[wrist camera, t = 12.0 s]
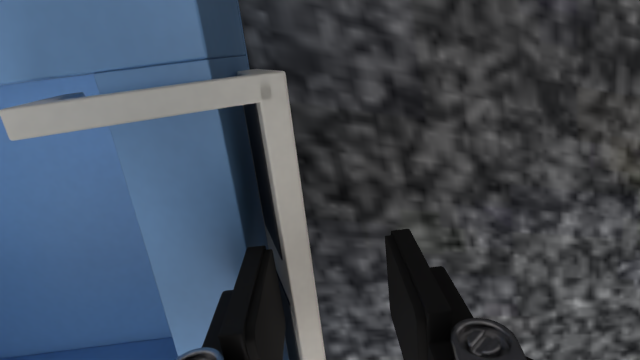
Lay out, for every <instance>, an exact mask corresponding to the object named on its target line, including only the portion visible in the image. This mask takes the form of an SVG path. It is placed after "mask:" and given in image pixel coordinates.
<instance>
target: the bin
mask: <svg viewBox="0 0 640 360" xmlns="http://www.w3.org/2000/svg"><path fill="white" fill-rule="evenodd" d="M244 70H250V68H249V62H248V56H247V50H246V44H245V38H244V32H243V27H242V21H241V15H240V9H239V3H238V0H0V110H1V109H5V108H9V107H13V106H18V105H22V104H26V103H30V102H34V101H38V100H42V99H47V98H51V97H55V96H59V95H63V94H71V93H78V92H83V93H84V94H85V96H86V97H87V96H94V95H101V94H109V93H116V92H124V91H131V90H138V89H146V88H153V87H160V86H168V85H175V84H182V83H190V82H197V81H205V80H212V79H219V78H227V77H234V76H237V72H238V71H244ZM263 245H265V246H266V249H267V250H268V249H269V248H268V243H267V237H266V232H265V226H264V221H263V215H262V210H261V204H260V199H259V193H258V187H257V182H256V176H255V171H254V165H253V160H252V154H251V149H250V143H249V138H248V132H247V127H246V121H245V116H244V110H243V105H240V106H234V107H227V108H221V109H214V110H208V111H202V112H195V113H189V114H182V115H176V116H169V117H163V118H157V119H150V120H144V121H137V122H131V123H125V124H118V125H112V126H105V127H99V128H92V129H86V130H80V131H73V132H67V133H60V134H54V135H48V136H41V137H35V138H28V139H22V140H15V141H11V140H10V139H9V137H8V134H7V132H6V129H5V127H4V124H3V122H2V119H1V116H0V360H175V359H176V358H177V357H178V356H180V355H182V354H184V353H186V352H187V351H190V350H193V349H196V348H202V345H203V343H204V340H205V337H206V334H207V332H208V329H209V326H210V324H211V321H212V318H213V316H214V313H215V310H216V307H217V305H218V302H219V299H220V297H221V294H222V292H223V291H226V290H233V289H234V286H235V283H236V280H237V277H238V274H239V271H240V268H241V265H242V262H243V259H244V255H245V252H246V249H247V247H255V246H263ZM283 360H289V358H288V353H287V347H286V342H285V340H284V350H283Z"/></svg>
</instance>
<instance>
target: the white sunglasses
mask: <svg viewBox="0 0 640 360" xmlns="http://www.w3.org/2000/svg"><path fill="white" fill-rule="evenodd" d="M240 105H243V110H244V116H245V121H246V127H247V132H248V138H249V143H250V149H251V154H252V160H253V165H254V171H255V176H256V182H257V187H258V193H259V199H260V204H261V210H262V215H263V221H264V226H265V232H266V237H267V243H268V248H269V249H272V251H273V255H274V261H275V266H276V272H277V277H278V283H279V288H280V294H281V299H282V305H283V310H284V316H285V325H286V329H285V342H286V347H287V353H288V358H289V360H326V357H325V350H324V342H323V335H322V328H321V321H320V314H319V307H318V300H317V293H316V286H315V279H314V272H313V265H312V258H311V250H310V243H309V236H308V229H307V222H306V215H305V208H304V201H303V194H302V187H301V180H300V173H299V166H298V158H297V151H296V144H295V137H294V130H293V123H292V116H291V109H290V102H289V95H288V88H287V81H286V74H285V72H284V71H277V70H265V69H252V70H244V71H238V72H237V76H234V77H227V78H219V79H212V80H205V81H197V82H190V83H182V84H175V85H168V86H160V87H153V88H146V89H138V90H131V91H124V92H116V93H109V94H101V95H94V96H87V97H86V96H85V94H84V93H83V92H78V93H71V94H63V95H59V96H55V97H51V98H47V99H42V100H38V101H34V102H30V103H26V104H22V105H18V106H13V107H9V108H5V109H1V110H0V116H1V119H2V122H3V124H4V127H5V129H6V132H7V134H8V137H9V139H10V140H11V141H15V140H22V139H28V138H35V137H41V136H48V135H54V134H60V133H67V132H73V131H80V130H86V129H92V128H99V127H105V126H112V125H118V124H125V123H131V122H137V121H144V120H150V119H157V118H163V117H169V116H176V115H182V114H189V113H195V112H202V111H208V110H214V109H221V108H227V107H234V106H240Z"/></svg>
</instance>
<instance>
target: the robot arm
mask: <svg viewBox="0 0 640 360" xmlns="http://www.w3.org/2000/svg"><path fill="white" fill-rule="evenodd" d="M385 244H386V258H387V272H388V286H389V301H390V311H391V316H392V320H393V324H394V327H395V330H396V334H397V337H398V341H399V344H400V348H401V351H402V355H403V358H404V360H533V359H530V358H528V357H526V356H525V355H524V353H523V350H522V348H521V346H520V344H519V342H518V340H517V338H516V337H515V335H514V334H513V333H512V332H511V331H510V330H509V329H508V328H506V327H505V326H504V325H502V324H500V323H498V322H495V321H492V320H488V319H483V318H473V316H472V314H471V313H470V311H469V309H468V308H467V306H466V304H465V303H464V301H463V299H462V297H461V296H460V294H459V292H458V291H457V289H456V287H455V286H454V284H453V282H452V280H451V279H450V277H449V275H448V274H447V272H446V270H445V269H444V268H443V267H442V266H440V267H431V268H430V267H429V266H428V264H427V262H426V260H425V258H424V256H423V254H422V252H421V250H420V248H419V247H418V245H417V243H416V241H415V239H414V237H413V235H412V233H411V231H410V230H409V229H402V230H394V231H391V235H390V236H385ZM285 329H286V325H285V316H284V310H283V305H282V299H281V294H280V288H279V283H278V277H277V272H276V266H275V261H274V255H273V251H272V249H268V250H267V249H266V246H265V245H263V246H255V247H247V249H246V252H245V255H244V259H243V262H242V265H241V268H240V271H239V274H238V277H237V280H236V283H235V286H234V289H233V290H226V291H223V292H222V294H221V297H220V299H219V302H218V305H217V307H216V310H215V313H214V316H213V318H212V321H211V324H210V326H209V329H208V332H207V334H206V337H205V340H204V343H203V345H202V348H196V349H193V350H190V351H187V352H186V353H184V354H182V355H180V356H178V357H177V358H176V359H175V360H283V350H284V340H285Z"/></svg>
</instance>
